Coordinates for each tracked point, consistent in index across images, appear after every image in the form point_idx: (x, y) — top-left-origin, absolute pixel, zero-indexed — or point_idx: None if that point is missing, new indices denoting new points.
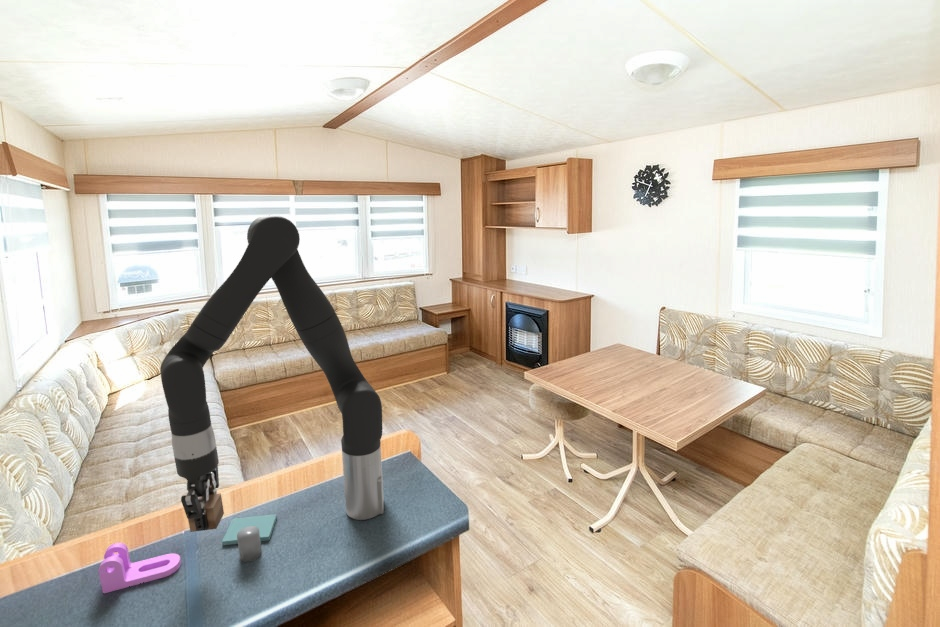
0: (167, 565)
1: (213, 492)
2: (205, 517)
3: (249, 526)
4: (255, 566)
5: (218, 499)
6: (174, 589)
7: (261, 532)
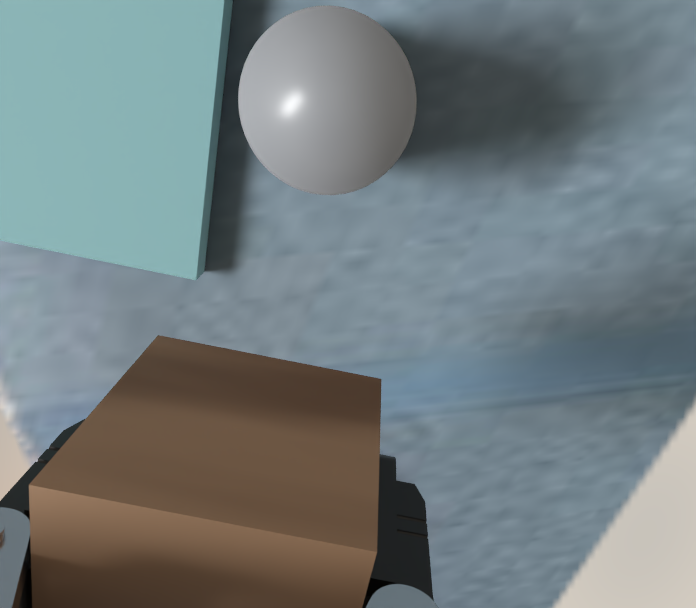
0: None
1: (17, 582)
2: (394, 549)
3: (238, 99)
4: (472, 61)
5: (153, 490)
6: (469, 451)
7: (167, 29)
